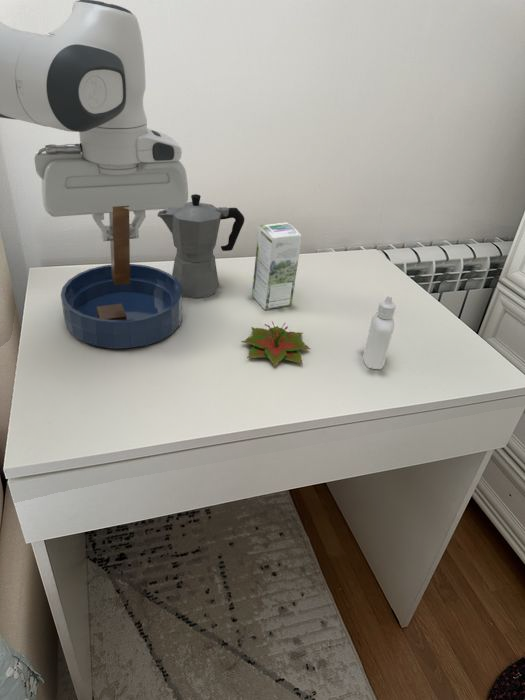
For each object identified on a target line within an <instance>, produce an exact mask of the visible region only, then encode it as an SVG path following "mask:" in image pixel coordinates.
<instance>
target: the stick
mask: <svg viewBox="0 0 525 700" xmlns="http://www.w3.org/2000/svg"><path fill="white" fill-rule="evenodd" d="M125 207H129V206H116V207H113V212H112V213H108V216H109V217H108V218H109V226H111V228H112V230H113V240H112V241H109V242H110V265H111V271H112V278H113V281H114V284H115V285H121V284H129V283H130V264H131V251H130V250H131V245H130V244H131V242H130V241H131V239H130V230H129V224H130V212H129V209H126V208H125Z"/></svg>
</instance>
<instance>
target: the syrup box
mask: <svg viewBox="0 0 525 700" xmlns="http://www.w3.org/2000/svg"><path fill="white" fill-rule="evenodd" d="M257 229H258V231H257V239H256V249H255V250H256V251H255V259H254V260H255V261H254V270H253V271H254V272H253V282H252V289H251V290H252V292H251V296H252V297H253V298H254V300H256V302H257V303H258V304H259V305H260V306H261V307H262V308H263V309H264V310H265V311H267V310H274V309H278V308H285V307H290V306H292V304H293V298H294V291H295V286H296V278H297V273H298V272H297V271H298V264H299V260H300V259H299V258H300V254H301V253H300V251H301V247H302V246H301V245H302V239H303V235H302V234H301V233H300V231H298V230H297V229H296V228H295V227H294V226H293V225H292V224H290V223H288V222H287V221H286V222H278V223H269V224H260V225H258V228H257Z"/></svg>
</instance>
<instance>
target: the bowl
mask: <svg viewBox="0 0 525 700" xmlns="http://www.w3.org/2000/svg"><path fill="white" fill-rule="evenodd" d="M60 299H61V306H62V307H61V308H62V313H63V319H64V323H65V325H66V326H65V327H66V329H67V330H68V332H69V333H70V334H71V335H72V336H73V337H75V338H76V339H78V340H80V341H82V342H83V343H86V344H89V345H92V346H96V347H101V348H108V349H132V348H133V349H134V348H138V347H144V346H148V345H152V344H154V343H157V342H159V341H162V340H163V339H165V338H167V337H169V336H170V335H172V334H173V333H174V332H175V331H176V330H177V329H178V328H179V327H180V325H181V322H182V320H183V296H182V288H181V285H180V284H179V282H178V281H177V279H176V278H174V277H173V276H172V274H170V273H169V272H166V271H165V270H162V269H160V268H158V267H153V266H149V265H145V264H137V263H130V283H129V284H121V285H115V284H114V281H113V278H112V271H111V264H105V265H100V266H96V267H92V268H89V269H86V270H83V271H82V272H79V273H77V274H76V275H74V276H73V277H70V279H68V280H67V281H66V283H65V284H64V285H63V286H62V289H61V292H60ZM113 304H122V306H123V309H124V311H125V314H126V317H127V320H108V319H99V318H97V310H96V307H98V306H106V305H113Z"/></svg>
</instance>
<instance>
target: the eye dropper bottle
mask: <svg viewBox="0 0 525 700" xmlns="http://www.w3.org/2000/svg"><path fill="white" fill-rule="evenodd" d="M395 310H396V304H395V303H394V302H393V296H392V295H391V294H389V295H387V296H386V297H385V299H384V300H380V301H379V303H378V308H377V312H375V313H374V314H373V316H372V317H371V322H370V324H369V329H368V333H367V338H366V342H365V346H364V350H363V354H362V358H363V362H364V365H366V367H367V368H368V369H373V370H382V369H383V367H384V365H385V364H386V363H385V362H386V359H387V355H388V351H389V348H390V345H391V341H392V337H393V333H394V329H395V321H394V320H395V319H394V318H393V317H394V314H395Z"/></svg>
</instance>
